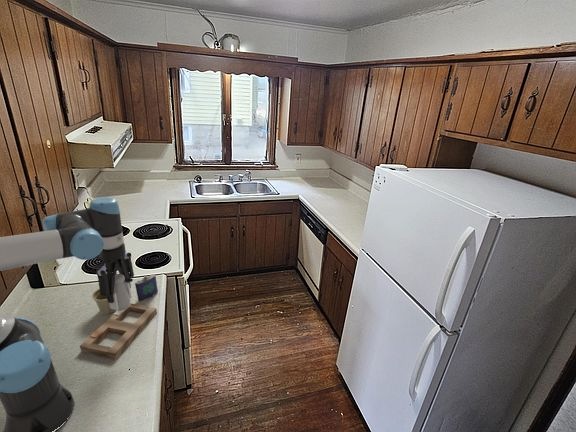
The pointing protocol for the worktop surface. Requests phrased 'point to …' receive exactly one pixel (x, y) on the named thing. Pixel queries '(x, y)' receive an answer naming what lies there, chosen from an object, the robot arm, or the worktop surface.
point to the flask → (146, 287)
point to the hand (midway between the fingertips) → (121, 302)
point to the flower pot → (102, 303)
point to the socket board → (118, 331)
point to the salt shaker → (121, 292)
